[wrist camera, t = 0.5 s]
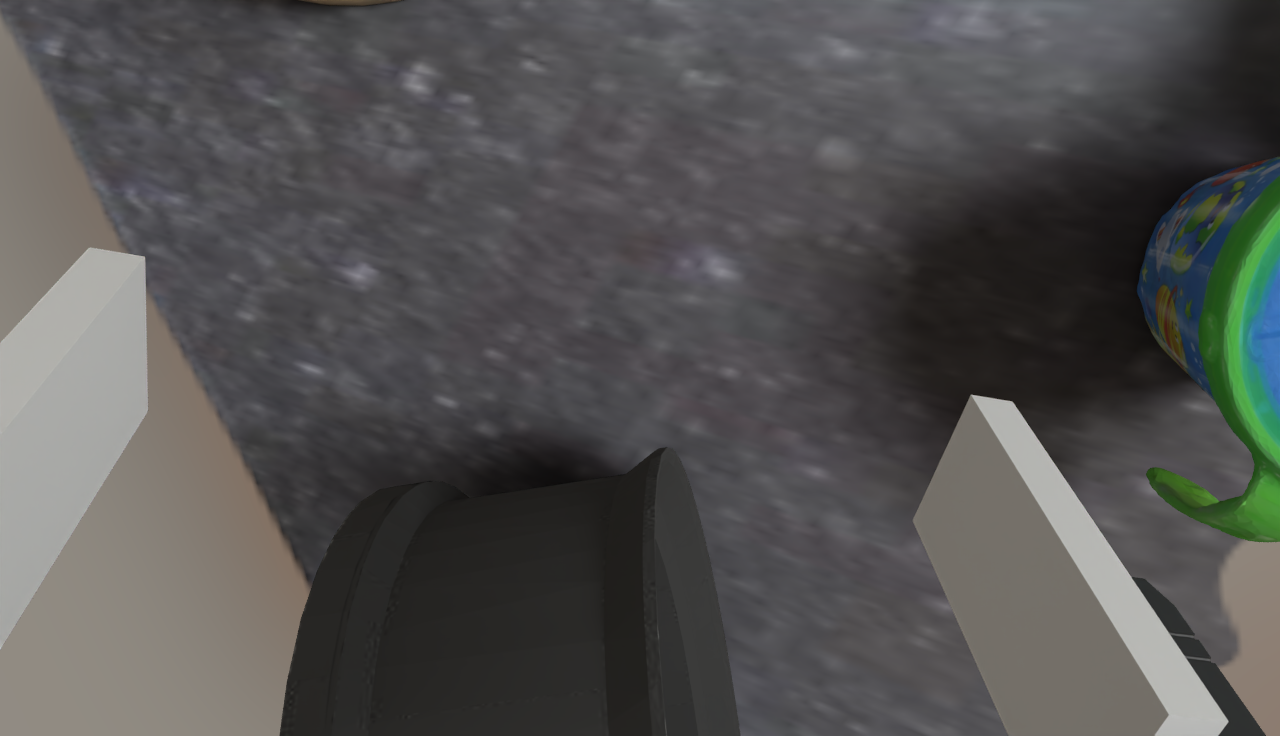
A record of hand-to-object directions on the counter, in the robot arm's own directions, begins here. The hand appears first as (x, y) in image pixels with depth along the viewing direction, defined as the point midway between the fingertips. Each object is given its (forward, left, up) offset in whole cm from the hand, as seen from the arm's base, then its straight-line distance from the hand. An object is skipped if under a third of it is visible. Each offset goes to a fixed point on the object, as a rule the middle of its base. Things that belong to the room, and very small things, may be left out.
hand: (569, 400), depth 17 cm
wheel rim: (+12, +11, -22) cm, 27 cm away
